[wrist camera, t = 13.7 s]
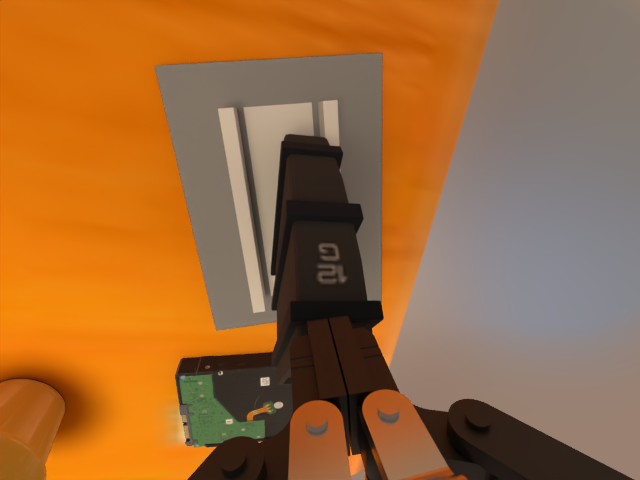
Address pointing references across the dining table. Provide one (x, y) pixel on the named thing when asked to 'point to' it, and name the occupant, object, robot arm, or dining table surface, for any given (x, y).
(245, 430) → the disk drive
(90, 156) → the dining table surface
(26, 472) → the plant pot
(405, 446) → the robot arm
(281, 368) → the magazine
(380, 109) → the rail board
